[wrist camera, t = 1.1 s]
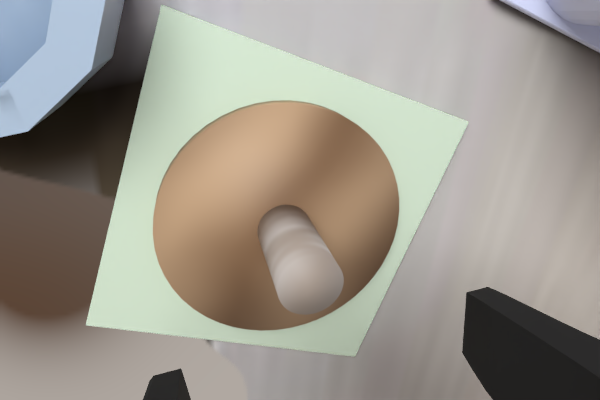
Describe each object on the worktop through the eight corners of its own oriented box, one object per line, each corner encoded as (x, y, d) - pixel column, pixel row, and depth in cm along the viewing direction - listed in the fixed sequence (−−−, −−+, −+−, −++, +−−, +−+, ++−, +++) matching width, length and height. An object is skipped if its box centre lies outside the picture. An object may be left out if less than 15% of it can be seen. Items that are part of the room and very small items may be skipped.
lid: (428, 142, 20) (503, 181, 15) (341, 331, 23) (381, 411, 18) (192, 61, 16) (196, 81, 11) (128, 303, 19) (111, 395, 15)
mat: (465, 120, 20) (469, 121, 20) (352, 353, 24) (354, 356, 24) (161, 4, 15) (161, 4, 15) (87, 320, 19) (85, 325, 19)
